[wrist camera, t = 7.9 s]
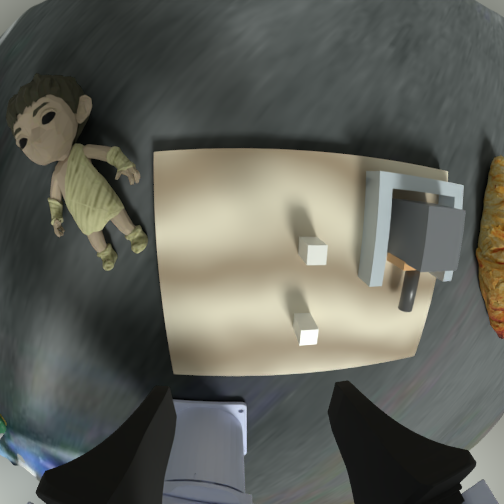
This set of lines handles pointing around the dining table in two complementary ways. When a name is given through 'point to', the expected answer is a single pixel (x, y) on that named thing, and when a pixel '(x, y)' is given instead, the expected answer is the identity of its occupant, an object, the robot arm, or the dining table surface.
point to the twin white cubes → (311, 254)
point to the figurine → (72, 160)
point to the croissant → (493, 246)
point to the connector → (423, 242)
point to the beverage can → (2, 426)
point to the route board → (276, 262)
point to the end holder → (380, 216)
